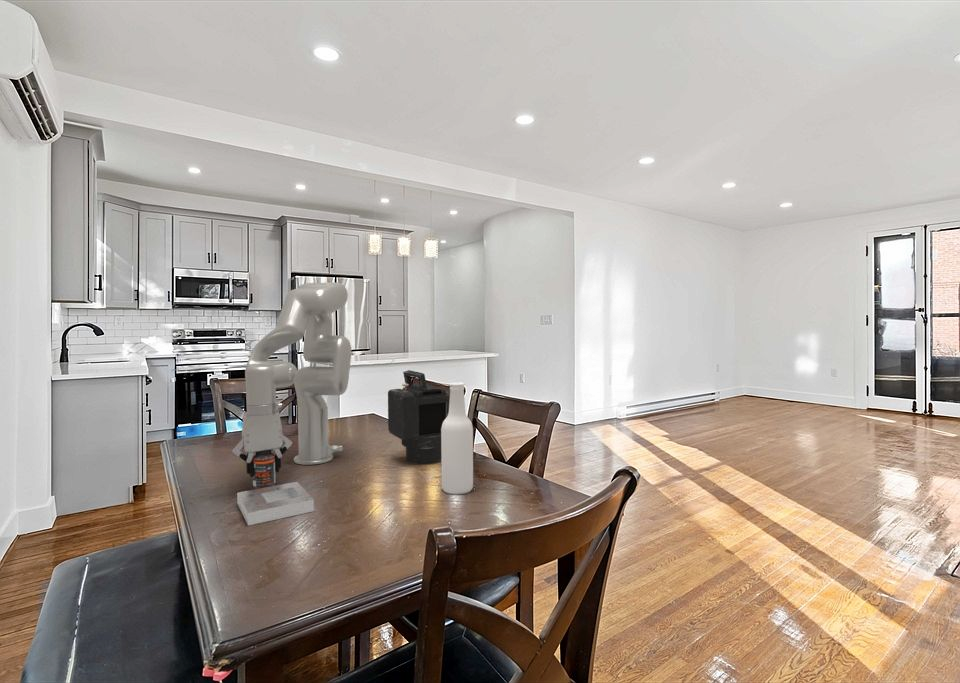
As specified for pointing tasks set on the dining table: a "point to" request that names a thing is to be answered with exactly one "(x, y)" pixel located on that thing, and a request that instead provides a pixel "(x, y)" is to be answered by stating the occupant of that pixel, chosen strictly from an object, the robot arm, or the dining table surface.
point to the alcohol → (457, 445)
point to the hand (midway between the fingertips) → (264, 472)
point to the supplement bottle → (264, 469)
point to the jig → (274, 503)
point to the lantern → (418, 418)
